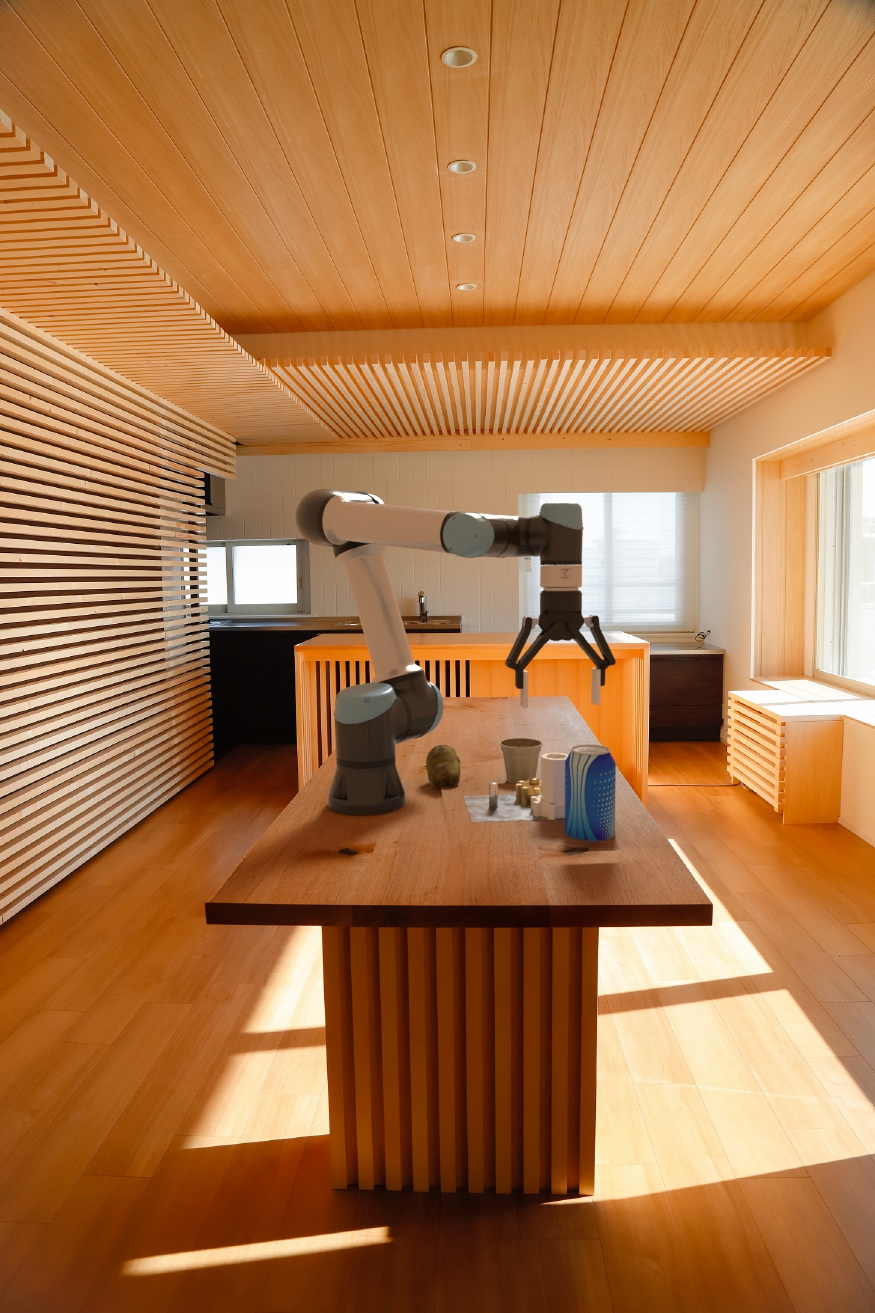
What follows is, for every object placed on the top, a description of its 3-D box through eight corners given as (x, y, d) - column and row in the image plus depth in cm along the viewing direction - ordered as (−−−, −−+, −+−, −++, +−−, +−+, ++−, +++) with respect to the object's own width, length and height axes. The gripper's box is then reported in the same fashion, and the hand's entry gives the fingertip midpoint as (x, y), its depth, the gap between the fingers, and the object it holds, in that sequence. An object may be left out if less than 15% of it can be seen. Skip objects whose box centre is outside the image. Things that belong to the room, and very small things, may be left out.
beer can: (580, 829, 143) (580, 741, 141) (623, 839, 137) (624, 747, 136) (555, 842, 136) (555, 750, 134) (599, 853, 131) (600, 757, 129)
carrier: (472, 830, 143) (471, 797, 142) (463, 803, 159) (463, 773, 158) (593, 826, 144) (594, 793, 144) (573, 799, 160) (573, 770, 159)
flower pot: (541, 788, 169) (541, 748, 168) (496, 786, 170) (496, 746, 169) (544, 776, 178) (544, 738, 177) (502, 775, 180) (501, 737, 179)
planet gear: (536, 820, 143) (536, 763, 142) (527, 805, 152) (527, 751, 151) (586, 819, 144) (586, 761, 142) (574, 804, 152) (574, 749, 151)
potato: (418, 793, 166) (418, 755, 165) (429, 776, 179) (428, 741, 178) (458, 794, 165) (458, 756, 164) (466, 778, 178) (466, 742, 177)
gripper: (498, 591, 140) (498, 711, 142) (634, 588, 143) (632, 706, 146) (489, 589, 147) (489, 703, 150) (619, 587, 151) (617, 699, 153)
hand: (560, 705), depth 148 cm, fingers open, 13 cm apart
